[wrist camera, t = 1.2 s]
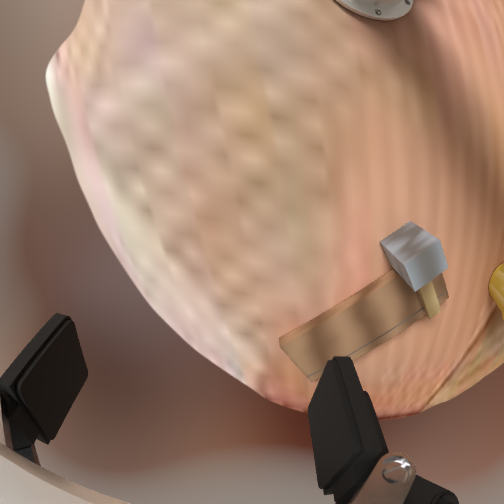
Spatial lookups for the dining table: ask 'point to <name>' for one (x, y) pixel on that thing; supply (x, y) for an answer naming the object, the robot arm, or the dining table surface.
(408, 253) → the wooden handled gray mallet
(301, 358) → the board
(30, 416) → the robot arm
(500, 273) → the plant pot
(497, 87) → the dining table surface
